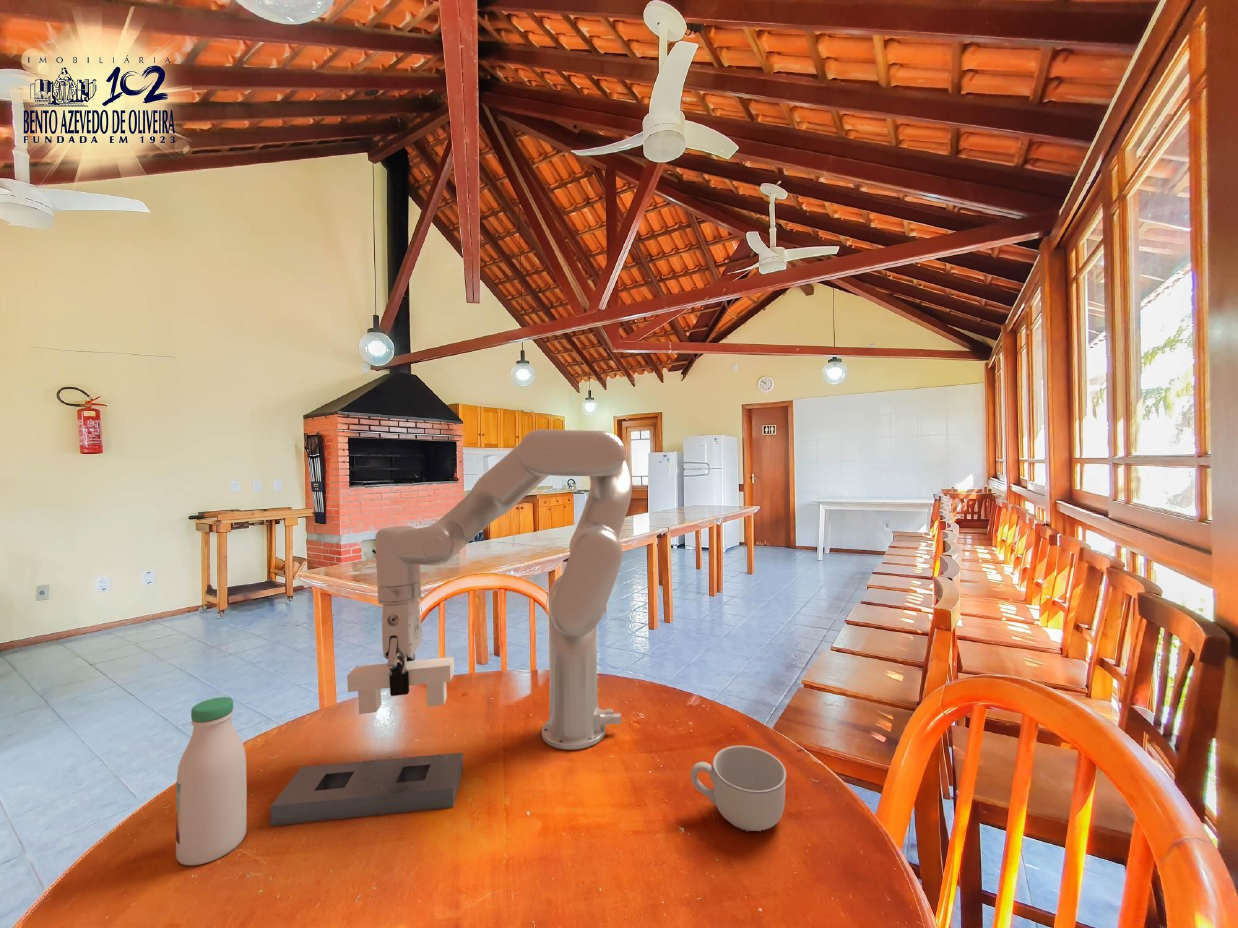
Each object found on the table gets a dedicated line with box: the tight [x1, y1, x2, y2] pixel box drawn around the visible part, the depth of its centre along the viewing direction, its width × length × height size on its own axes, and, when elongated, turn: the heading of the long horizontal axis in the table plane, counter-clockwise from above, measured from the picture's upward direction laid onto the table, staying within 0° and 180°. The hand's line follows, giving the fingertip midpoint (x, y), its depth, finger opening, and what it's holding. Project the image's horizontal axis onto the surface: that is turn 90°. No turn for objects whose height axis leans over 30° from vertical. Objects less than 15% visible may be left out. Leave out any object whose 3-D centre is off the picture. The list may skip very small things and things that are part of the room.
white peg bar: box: [346, 656, 455, 715], centre depth 96 cm, size 18×4×8 cm, turn 99°
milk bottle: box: [175, 696, 248, 867], centre depth 71 cm, size 8×8×20 cm
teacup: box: [690, 745, 787, 832], centre depth 77 cm, size 14×11×8 cm
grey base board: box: [269, 752, 464, 827], centre depth 82 cm, size 26×10×3 cm, turn 99°
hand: (403, 687), depth 96 cm, fingers closed on white peg bar, 4 cm apart
